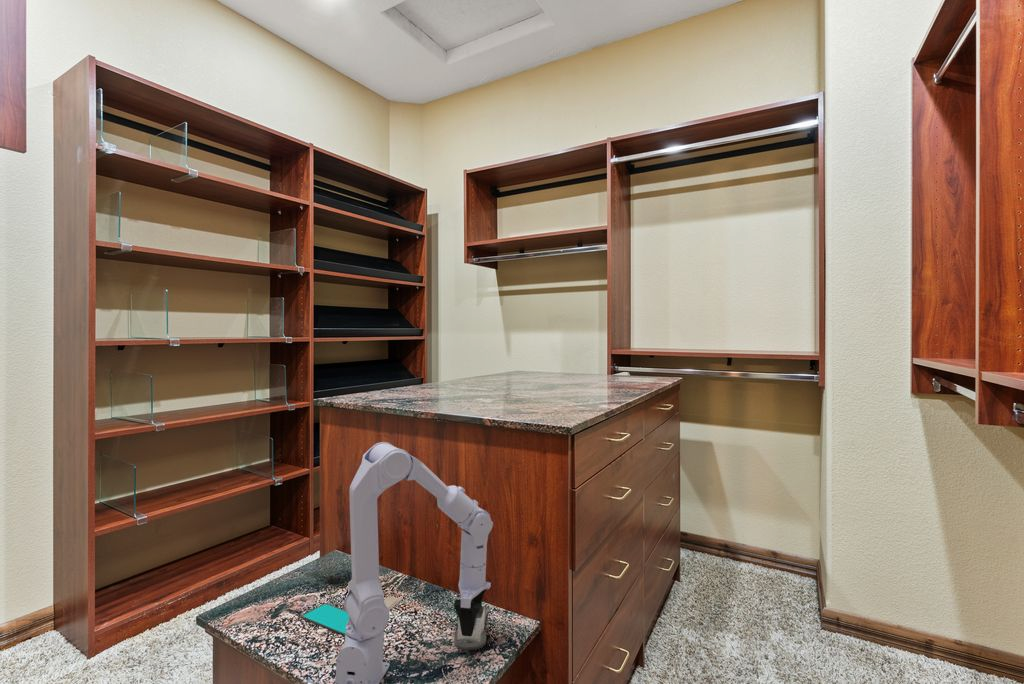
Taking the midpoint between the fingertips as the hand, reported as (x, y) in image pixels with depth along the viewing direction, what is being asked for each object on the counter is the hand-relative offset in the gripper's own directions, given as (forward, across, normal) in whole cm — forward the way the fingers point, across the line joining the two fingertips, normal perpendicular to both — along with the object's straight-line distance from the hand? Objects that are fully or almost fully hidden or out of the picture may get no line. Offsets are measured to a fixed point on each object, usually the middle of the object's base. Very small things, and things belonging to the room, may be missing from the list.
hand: (470, 625), depth 104 cm
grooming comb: (+4, +15, +30) cm, 34 cm away
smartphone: (+4, +3, +33) cm, 33 cm away
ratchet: (+3, +4, 0) cm, 5 cm away
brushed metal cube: (+2, 0, 0) cm, 2 cm away
